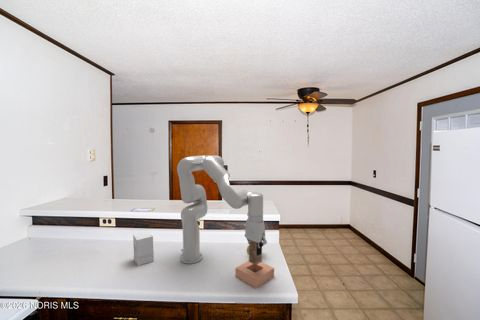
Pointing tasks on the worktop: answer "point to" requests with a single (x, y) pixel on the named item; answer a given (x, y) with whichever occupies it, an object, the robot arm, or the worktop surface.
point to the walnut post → (254, 253)
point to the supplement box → (143, 248)
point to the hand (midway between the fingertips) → (255, 252)
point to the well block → (254, 273)
